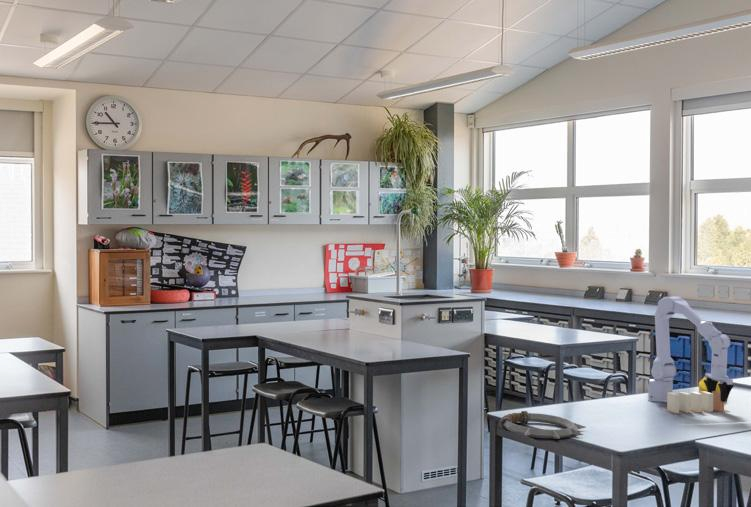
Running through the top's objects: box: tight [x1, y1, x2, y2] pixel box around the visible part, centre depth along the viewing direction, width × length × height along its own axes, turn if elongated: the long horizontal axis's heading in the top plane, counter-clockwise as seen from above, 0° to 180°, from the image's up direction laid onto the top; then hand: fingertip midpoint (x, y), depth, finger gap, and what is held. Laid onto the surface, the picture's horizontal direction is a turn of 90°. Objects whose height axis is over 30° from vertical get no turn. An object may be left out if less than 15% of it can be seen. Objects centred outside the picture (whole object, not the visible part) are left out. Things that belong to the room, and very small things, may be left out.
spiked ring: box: [498, 410, 587, 440], centre depth 291 cm, size 33×5×30 cm
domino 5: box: [712, 391, 725, 411], centre depth 332 cm, size 2×5×7 cm, turn 15°
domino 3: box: [689, 391, 702, 412], centre depth 329 cm, size 2×5×7 cm, turn 14°
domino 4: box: [701, 391, 713, 412], centre depth 330 cm, size 2×5×7 cm, turn 14°
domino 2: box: [678, 391, 691, 412], centre depth 328 cm, size 2×5×7 cm, turn 14°
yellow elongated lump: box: [698, 376, 721, 394], centre depth 357 cm, size 10×30×10 cm, turn 164°
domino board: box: [660, 408, 731, 415], centre depth 329 cm, size 26×8×1 cm, turn 104°
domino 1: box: [666, 391, 680, 413], centre depth 327 cm, size 2×5×7 cm, turn 14°
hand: (717, 399), depth 332 cm, fingers open, 7 cm apart
